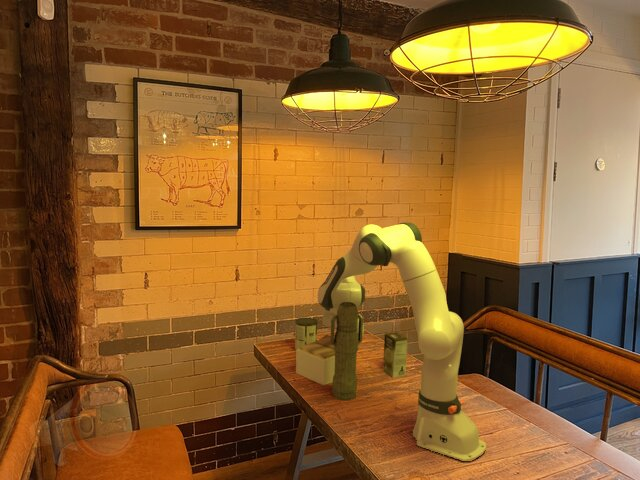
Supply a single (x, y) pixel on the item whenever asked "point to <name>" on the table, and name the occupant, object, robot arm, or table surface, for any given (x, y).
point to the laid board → (318, 350)
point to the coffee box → (395, 354)
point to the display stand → (315, 367)
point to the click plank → (325, 341)
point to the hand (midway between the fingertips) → (342, 340)
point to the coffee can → (305, 331)
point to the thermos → (346, 350)
